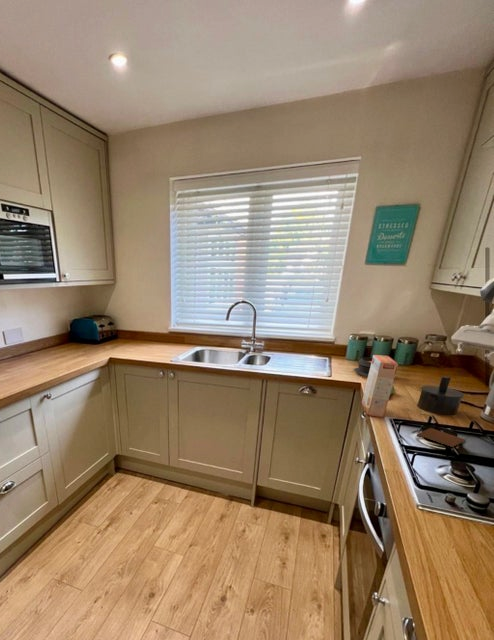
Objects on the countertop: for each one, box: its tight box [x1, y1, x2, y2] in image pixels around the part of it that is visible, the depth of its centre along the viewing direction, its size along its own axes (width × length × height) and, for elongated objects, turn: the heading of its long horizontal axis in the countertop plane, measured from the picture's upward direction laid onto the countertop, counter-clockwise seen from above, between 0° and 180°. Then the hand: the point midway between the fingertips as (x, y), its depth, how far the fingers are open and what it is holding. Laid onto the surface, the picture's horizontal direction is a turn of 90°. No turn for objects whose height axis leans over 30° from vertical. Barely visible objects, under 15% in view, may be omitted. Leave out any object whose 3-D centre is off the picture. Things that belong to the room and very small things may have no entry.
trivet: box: [416, 427, 466, 448], centre depth 107 cm, size 10×10×1 cm
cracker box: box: [361, 354, 399, 418], centre depth 126 cm, size 14×6×21 cm, turn 161°
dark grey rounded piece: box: [354, 356, 373, 378], centre depth 177 cm, size 25×19×8 cm
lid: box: [420, 375, 465, 399], centre depth 125 cm, size 13×13×7 cm
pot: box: [416, 390, 463, 419], centre depth 128 cm, size 12×18×8 cm
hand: (471, 355), depth 126 cm, fingers open, 8 cm apart
